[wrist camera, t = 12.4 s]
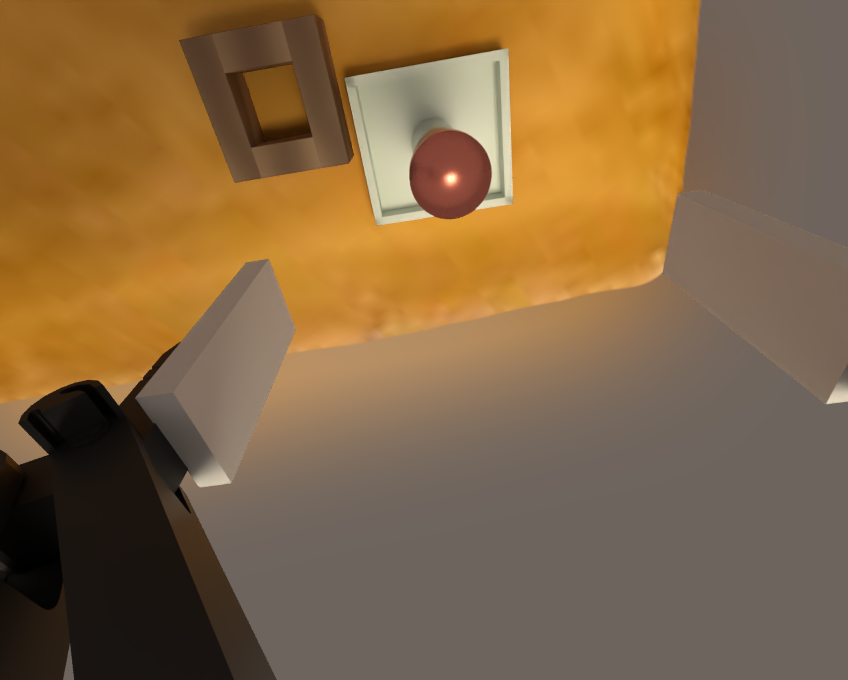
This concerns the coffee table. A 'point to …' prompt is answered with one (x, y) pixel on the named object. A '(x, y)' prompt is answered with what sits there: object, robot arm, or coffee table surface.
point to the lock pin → (448, 170)
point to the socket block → (233, 109)
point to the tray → (422, 99)
